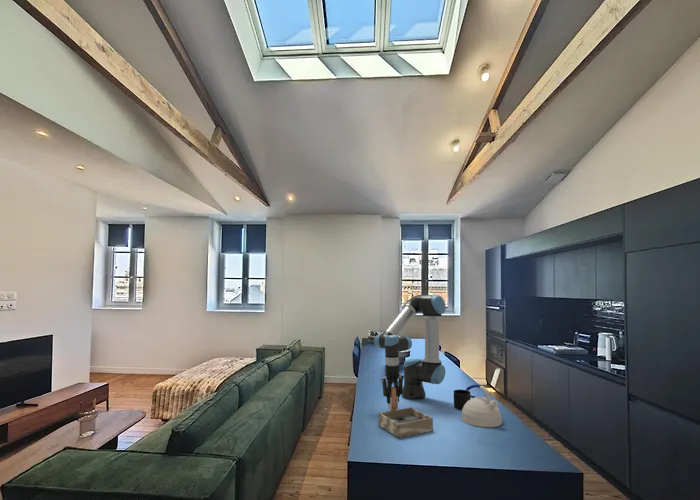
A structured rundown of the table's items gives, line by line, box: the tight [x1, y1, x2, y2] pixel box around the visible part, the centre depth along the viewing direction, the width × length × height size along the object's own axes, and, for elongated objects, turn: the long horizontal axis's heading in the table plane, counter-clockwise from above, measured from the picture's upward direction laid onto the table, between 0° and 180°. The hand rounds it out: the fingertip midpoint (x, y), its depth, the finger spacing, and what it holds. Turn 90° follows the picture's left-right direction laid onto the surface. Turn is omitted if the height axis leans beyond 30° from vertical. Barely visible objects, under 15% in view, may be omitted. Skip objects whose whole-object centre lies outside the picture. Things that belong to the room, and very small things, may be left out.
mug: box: [453, 389, 475, 411], centre depth 221 cm, size 9×12×9 cm
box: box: [378, 407, 434, 438], centre depth 189 cm, size 18×20×6 cm
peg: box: [389, 386, 397, 411], centre depth 205 cm, size 3×3×14 cm
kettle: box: [461, 384, 503, 428], centre depth 200 cm, size 20×21×18 cm
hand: (393, 408), depth 205 cm, fingers closed on peg, 3 cm apart
